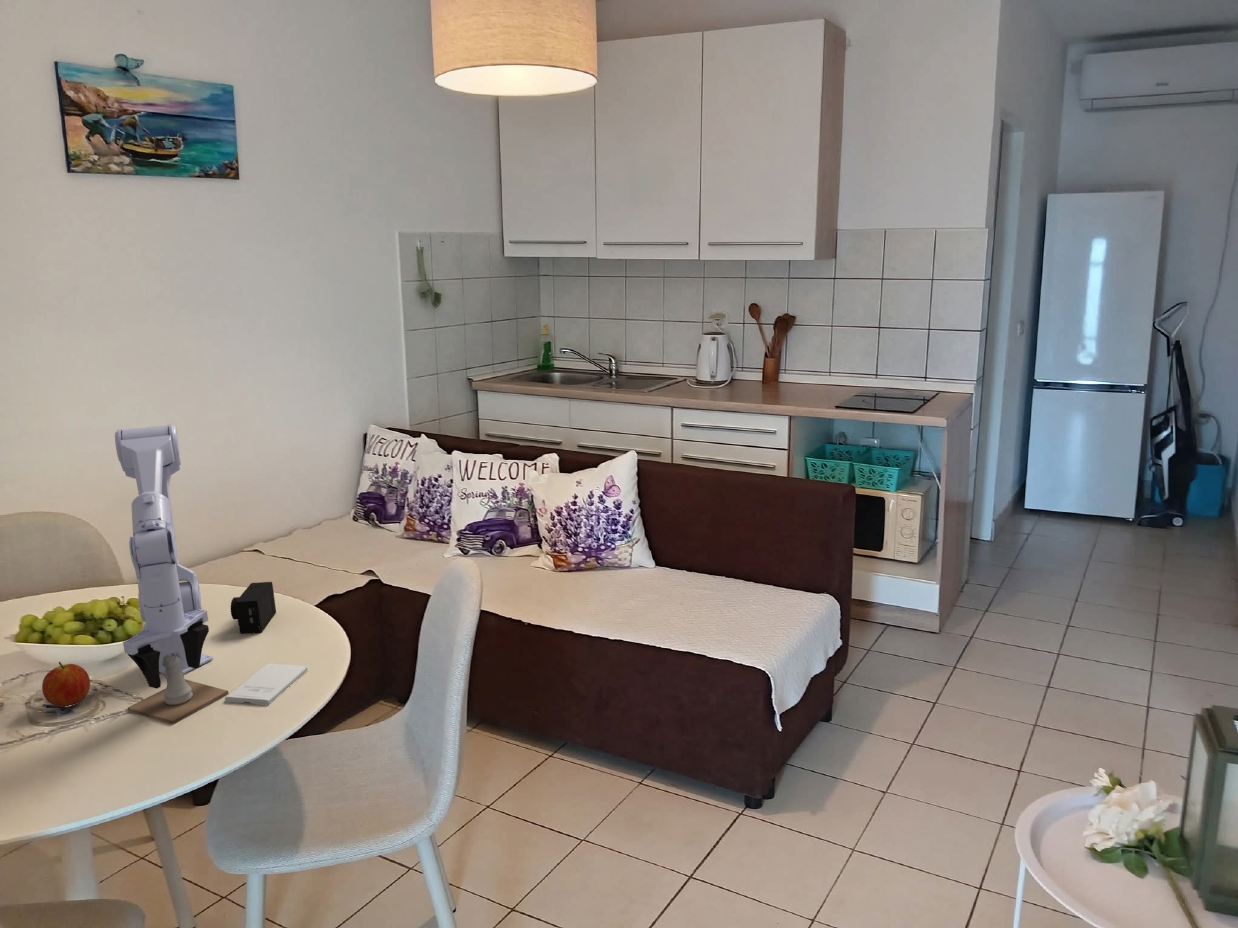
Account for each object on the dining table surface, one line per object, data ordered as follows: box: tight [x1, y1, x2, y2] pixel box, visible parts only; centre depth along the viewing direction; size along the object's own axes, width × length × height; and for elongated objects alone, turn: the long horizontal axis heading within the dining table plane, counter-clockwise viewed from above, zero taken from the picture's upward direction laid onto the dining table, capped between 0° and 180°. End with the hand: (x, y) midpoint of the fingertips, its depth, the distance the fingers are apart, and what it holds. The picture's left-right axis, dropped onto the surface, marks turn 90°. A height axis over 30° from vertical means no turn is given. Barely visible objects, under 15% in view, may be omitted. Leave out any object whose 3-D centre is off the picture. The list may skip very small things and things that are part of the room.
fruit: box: [41, 661, 91, 708], centre depth 158 cm, size 7×7×8 cm
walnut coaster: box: [127, 678, 229, 725], centre depth 158 cm, size 11×11×1 cm
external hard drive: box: [224, 663, 308, 706], centre depth 163 cm, size 2×8×12 cm
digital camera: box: [230, 581, 277, 635], centre depth 189 cm, size 10×5×7 cm, turn 4°
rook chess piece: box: [162, 653, 193, 705], centre depth 157 cm, size 4×4×8 cm
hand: (174, 676), depth 157 cm, fingers open, 7 cm apart
